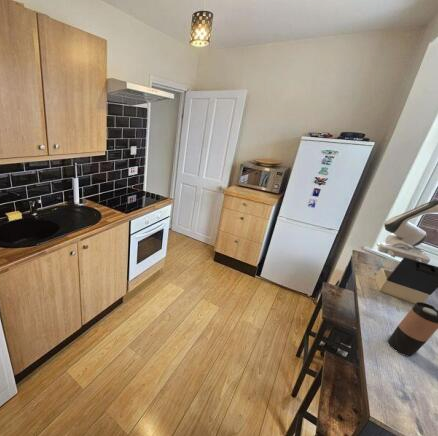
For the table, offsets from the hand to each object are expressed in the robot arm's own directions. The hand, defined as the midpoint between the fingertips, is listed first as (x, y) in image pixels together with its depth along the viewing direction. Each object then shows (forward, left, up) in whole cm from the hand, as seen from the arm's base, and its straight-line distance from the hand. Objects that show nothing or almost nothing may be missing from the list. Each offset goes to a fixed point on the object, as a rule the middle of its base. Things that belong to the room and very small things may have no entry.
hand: (405, 259), depth 124 cm
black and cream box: (0, +20, +1) cm, 20 cm away
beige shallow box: (0, +11, -14) cm, 18 cm away
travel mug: (+7, +59, -14) cm, 62 cm away
